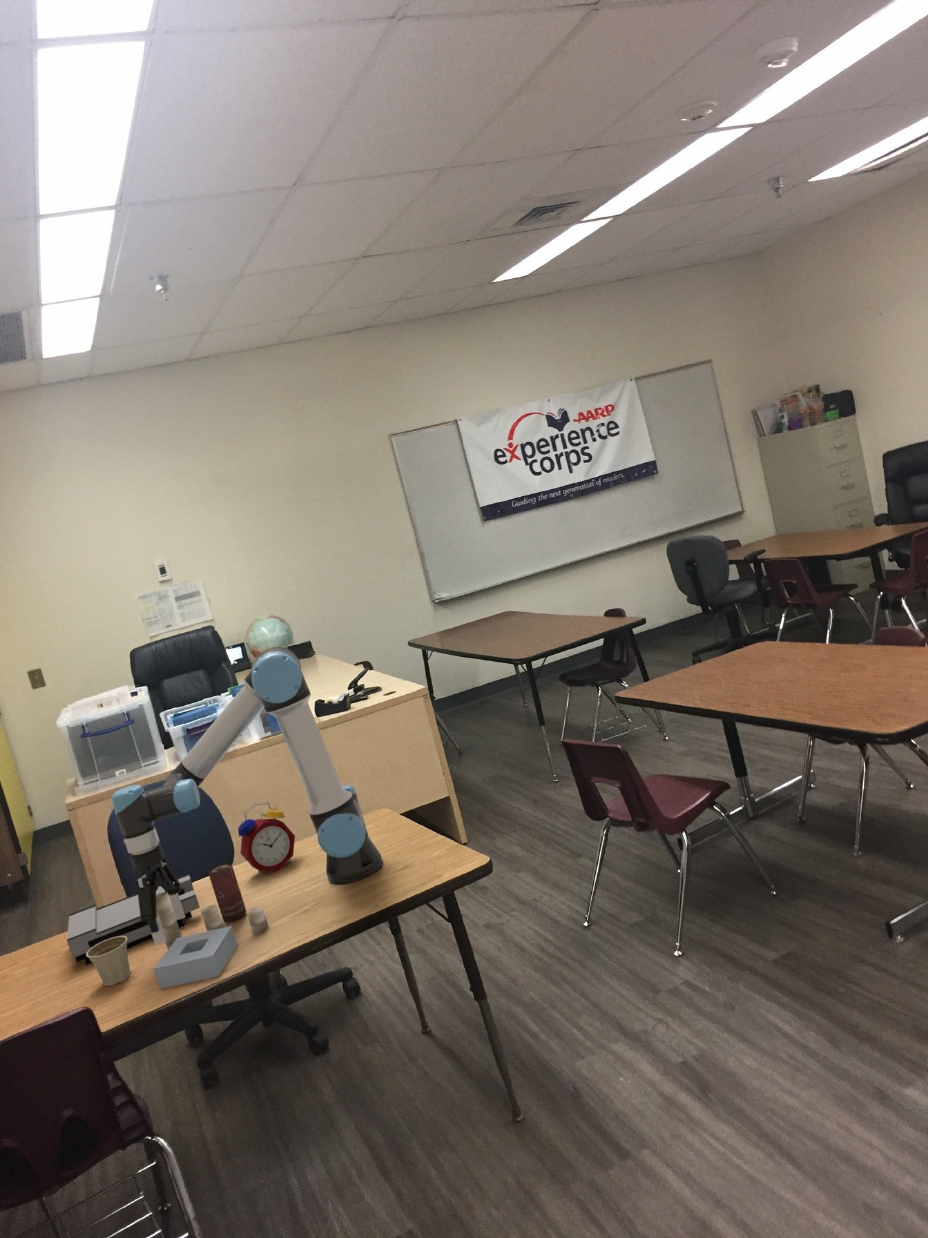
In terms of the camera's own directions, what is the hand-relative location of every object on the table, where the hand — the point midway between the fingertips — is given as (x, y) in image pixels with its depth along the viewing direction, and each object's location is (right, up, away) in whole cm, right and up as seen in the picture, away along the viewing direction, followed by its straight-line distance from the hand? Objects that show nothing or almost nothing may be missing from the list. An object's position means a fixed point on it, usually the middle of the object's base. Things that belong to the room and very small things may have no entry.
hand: (170, 930), depth 227 cm
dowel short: (+22, +1, -1) cm, 23 cm away
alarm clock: (+17, +5, +40) cm, 44 cm away
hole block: (+11, -4, -13) cm, 18 cm away
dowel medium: (+12, -2, 0) cm, 12 cm away
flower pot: (-10, -9, -8) cm, 16 cm away
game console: (-14, -7, +19) cm, 25 cm away
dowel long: (+1, -5, +1) cm, 5 cm away
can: (+14, 0, +10) cm, 17 cm away
